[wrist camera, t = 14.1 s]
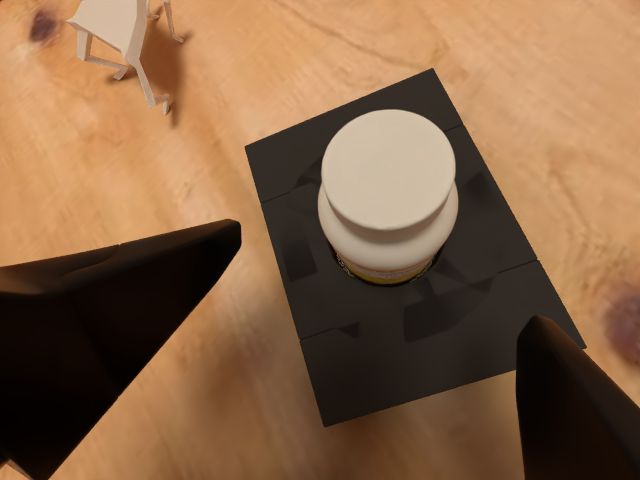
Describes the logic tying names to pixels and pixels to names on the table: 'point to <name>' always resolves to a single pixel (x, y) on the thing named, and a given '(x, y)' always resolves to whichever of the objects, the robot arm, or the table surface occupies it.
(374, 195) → the supplement bottle
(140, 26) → the white flat legged piece
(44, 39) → the table surface
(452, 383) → the docking pad
